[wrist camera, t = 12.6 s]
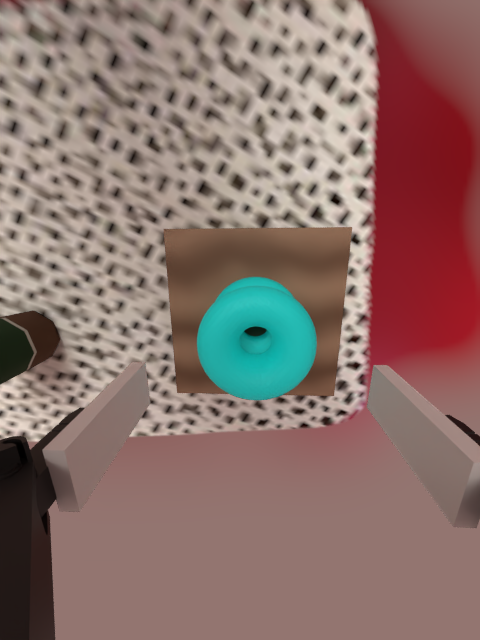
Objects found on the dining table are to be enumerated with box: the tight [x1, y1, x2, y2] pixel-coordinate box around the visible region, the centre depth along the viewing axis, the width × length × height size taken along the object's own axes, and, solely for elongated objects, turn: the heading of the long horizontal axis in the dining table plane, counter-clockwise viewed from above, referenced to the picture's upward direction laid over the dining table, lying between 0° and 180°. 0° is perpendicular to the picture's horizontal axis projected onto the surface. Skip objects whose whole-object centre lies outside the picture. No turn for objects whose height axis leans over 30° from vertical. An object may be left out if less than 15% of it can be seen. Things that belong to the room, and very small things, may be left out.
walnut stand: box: [164, 227, 352, 396], centre depth 32 cm, size 20×20×5 cm
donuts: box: [197, 277, 317, 400], centre depth 24 cm, size 10×10×10 cm
